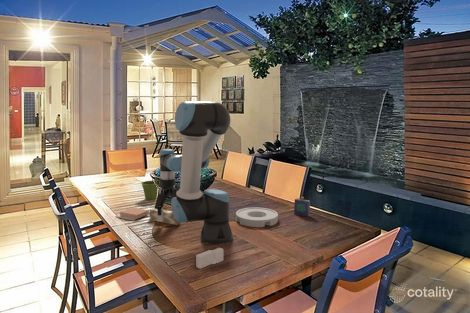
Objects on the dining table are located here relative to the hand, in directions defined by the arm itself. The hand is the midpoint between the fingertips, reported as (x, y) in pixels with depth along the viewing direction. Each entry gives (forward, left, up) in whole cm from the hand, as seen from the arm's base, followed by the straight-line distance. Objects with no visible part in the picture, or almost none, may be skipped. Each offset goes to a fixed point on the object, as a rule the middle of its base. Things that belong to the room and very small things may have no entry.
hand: (168, 217), depth 188 cm
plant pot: (+38, -33, -3) cm, 51 cm away
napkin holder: (-45, +33, -3) cm, 56 cm away
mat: (+25, -2, -3) cm, 26 cm away
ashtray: (-41, -25, -3) cm, 48 cm away
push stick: (+3, 0, -3) cm, 4 cm away
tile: (+17, 0, -1) cm, 17 cm away
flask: (-61, -45, -3) cm, 76 cm away
